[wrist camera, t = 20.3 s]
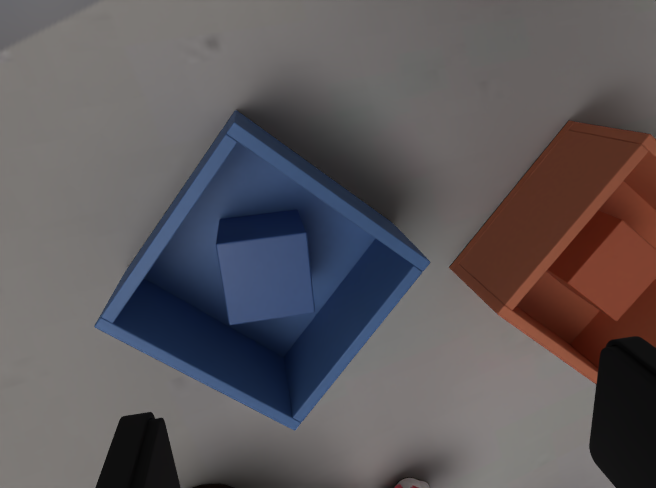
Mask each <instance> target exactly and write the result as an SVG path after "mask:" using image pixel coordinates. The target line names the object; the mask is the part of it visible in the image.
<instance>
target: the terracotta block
mask: <svg viewBox="0 0 656 488" xmlns="http://www.w3.org/2000/svg"><path fill="white" fill-rule="evenodd" d="M546 272H547V273H549V274H550V275H551V276H553V277H554V278H555V279H556V280H558V281H559V282H560V283H562V284H563V285H564V286H565V287H567V288H568V289H569V290H571V291H572V292H573V293H575V294H576V295H578V296H579V297H581V298H582V299H584V300H585V301H587V302H588V303H590V304H591V305H593V306H594V307H595V308H597V309H598V310H600V311H601V312H603V313H604V314H606V315H607V316H609V317H610V318H612V319H613V320H615V321H618V320H619V318H620V317H621V316H622V315H623V314H624V313H625V312H626V311H627V310H628V308H629V307H630V306H631V305H632V304H633V303H634V302H635V301H636V300H637V299H638V297H639V296H640V295H641V294H642V293H643V292H644V291H645V290H646V289H647V287H648V286H649V285H650V284H651V283H652V282H653V281H654V280H655V279H656V249H655V248H654V247H653V246H652V245H650V244H649V243H648V242H647V241H646V240H645V239H644V238H643V237H641V236H640V235H639V234H638V233H637V232H636V231H635V230H634V229H632V228H631V227H630V226H629V225H628V224H627V223H626V222H625V221H623V220H622V219H619V218H617V217H614V216H612V215H609V214H607V213H604V212H602V211H599V210H598V211H597V212H596V213H595V215H594V216H593V217H592V218H591V219H590V220H589V222H588V223H587V224H586V225H585V226H584V227H583V229H582V230H581V231H580V232H579V233H578V234H577V236H576V237H575V238H574V239H573V240H572V241H571V243H570V244H569V245H568V246H567V247H566V248H565V250H564V251H563V252H562V253H561V254H560V255H559V257H558V258H557V259H556V260H555V261H554V262H553V264H552V265H551V266H550V267H549V268H548V269H547V271H546Z"/></svg>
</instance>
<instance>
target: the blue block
mask: <svg viewBox="0 0 656 488" xmlns="http://www.w3.org/2000/svg"><path fill="white" fill-rule="evenodd" d="M216 250H217V256H218V262H219V268H220V274H221V280H222V286H223V292H224V298H225V304H226V310H227V316H228V322H229V325H236V324H242V323H249V322H256V321H262V320H269V319H276V318H282V317H289V316H296V315H302V314H309V313H314V312H315V305H314V296H313V286H312V277H311V267H310V258H309V248H308V239H307V232H306V230H305V227H304V225H303V222H302V220H301V217H300V214H299V212H298V210H288V211H280V212H272V213H264V214H256V215H248V216H241V217H233V218H225V219H220V220H219V226H218V232H217V239H216Z"/></svg>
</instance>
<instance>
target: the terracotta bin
mask: <svg viewBox="0 0 656 488" xmlns="http://www.w3.org/2000/svg"><path fill="white" fill-rule="evenodd" d="M598 210H599V211H602V212H604V213H607V214H609V215H612V216H614V217H617V218H619V219H622V220H623V221H625V222H626V223H627V224H628V225H629V226H630V227H631V228H632V229H634V230H635V231H636V232H637V233H638V234H639V235H640V236H641V237H643V238H644V239H645V240H646V241H647V242H648V243H649V244H650V245H652V246H653V247H654V248H655V249H656V139H655V138H654V137H653V136H652V135H651V134H646V133H640V132H634V131H628V130H622V129H616V128H610V127H604V126H598V125H592V124H585V123H579V122H574V121H568V122H567V123H566V125H565V126H564V127H563V128H562V130H561V131H560V132H559V133H558V135H557V136H556V137H555V138H554V139H553V141H552V142H551V143H550V144H549V146H548V147H547V148H546V149H545V151H544V152H543V153H542V154H541V155H540V157H539V158H538V159H537V160H536V162H535V163H534V164H533V165H532V166H531V168H530V169H529V170H528V171H527V173H526V174H525V175H524V176H523V178H522V179H521V180H520V181H519V182H518V184H517V185H516V186H515V187H514V189H513V190H512V191H511V192H510V194H509V195H508V196H507V197H506V198H505V200H504V201H503V202H502V203H501V205H500V206H499V207H498V208H497V209H496V211H495V212H494V213H493V214H492V216H491V217H490V218H489V219H488V221H487V222H486V223H485V224H484V225H483V227H482V228H481V229H480V230H479V232H478V233H477V234H476V235H475V236H474V238H473V239H472V240H471V241H470V243H469V244H468V245H467V246H466V248H465V249H464V250H463V251H462V252H461V254H460V255H459V256H458V257H457V259H456V260H455V261H454V262H453V264H452V265H451V266H450V267H449V268H450V269H451V270H452V271H453V272H454V273H455V274H456V275H457V276H458V277H459V278H460V279H461V280H463V281H464V282H465V283H466V284H467V285H468V286H469V287H470V288H471V289H472V290H473V291H474V292H475V293H476V294H477V295H478V296H479V297H480V298H481V299H482V300H483V301H484V302H485V303H486V304H487V305H488V306H489V307H490V308H492V309H493V310H494V311H495V312H496V313H497V314H498V315H499V316H501V317H502V318H503V319H505V320H506V321H508V322H509V323H511V324H512V325H513V326H515V327H516V328H518V329H519V330H520V331H522V332H523V333H525V334H526V335H527V336H529V337H530V338H532V339H533V340H534V341H536V342H537V343H539V344H540V345H542V346H543V347H544V348H546V349H547V350H549V351H550V352H551V353H553V354H554V355H556V356H557V357H558V358H560V359H561V360H563V361H564V362H565V363H567V364H568V365H570V366H571V367H573V368H574V369H575V370H577V371H578V372H580V373H581V374H582V375H584V376H585V377H587V378H588V379H589V380H591V381H592V382H594V383H595V384H597V376H598V367H599V359H600V353H601V350H602V349H603V348H606V344H607V343H608V342H609V341H610V340H613V339H619V338H626V337H632V336H639V337H641V338H643V339H644V340H646V341H647V342H648V343H650V344H651V345H652V346H654V347H655V348H656V279H655V280H654V281H653V282H652V283H651V284H650V285H649V286H648V287H647V289H646V290H645V291H644V292H643V293H642V294H641V295H640V296H639V297H638V299H637V300H636V301H635V302H634V303H633V304H632V305H631V306H630V307H629V308H628V310H627V311H626V312H625V313H624V314H623V315H622V316H621V317H620V318H619V320H618V321H615V320H613V319H612V318H610V317H609V316H607V315H606V314H604V313H603V312H601V311H600V310H598V309H597V308H595V307H594V306H593V305H591V304H590V303H588V302H587V301H585V300H584V299H582V298H581V297H579V296H578V295H576V294H575V293H573V292H572V291H571V290H569V289H568V288H567V287H565V286H564V285H563V284H562V283H560V282H559V281H558V280H556V279H555V278H554V277H553V276H551V275H550V274H549V273H547V272H546V271H547V269H548V268H549V267H550V266H551V265H552V264H553V262H554V261H555V260H556V259H557V258H558V257H559V255H560V254H561V253H562V252H563V251H564V250H565V248H566V247H567V246H568V245H569V244H570V243H571V241H572V240H573V239H574V238H575V237H576V236H577V234H578V233H579V232H580V231H581V230H582V229H583V227H584V226H585V225H586V224H587V223H588V222H589V220H590V219H591V218H592V217H593V216H594V215H595V213H596V212H597V211H598Z"/></svg>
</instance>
